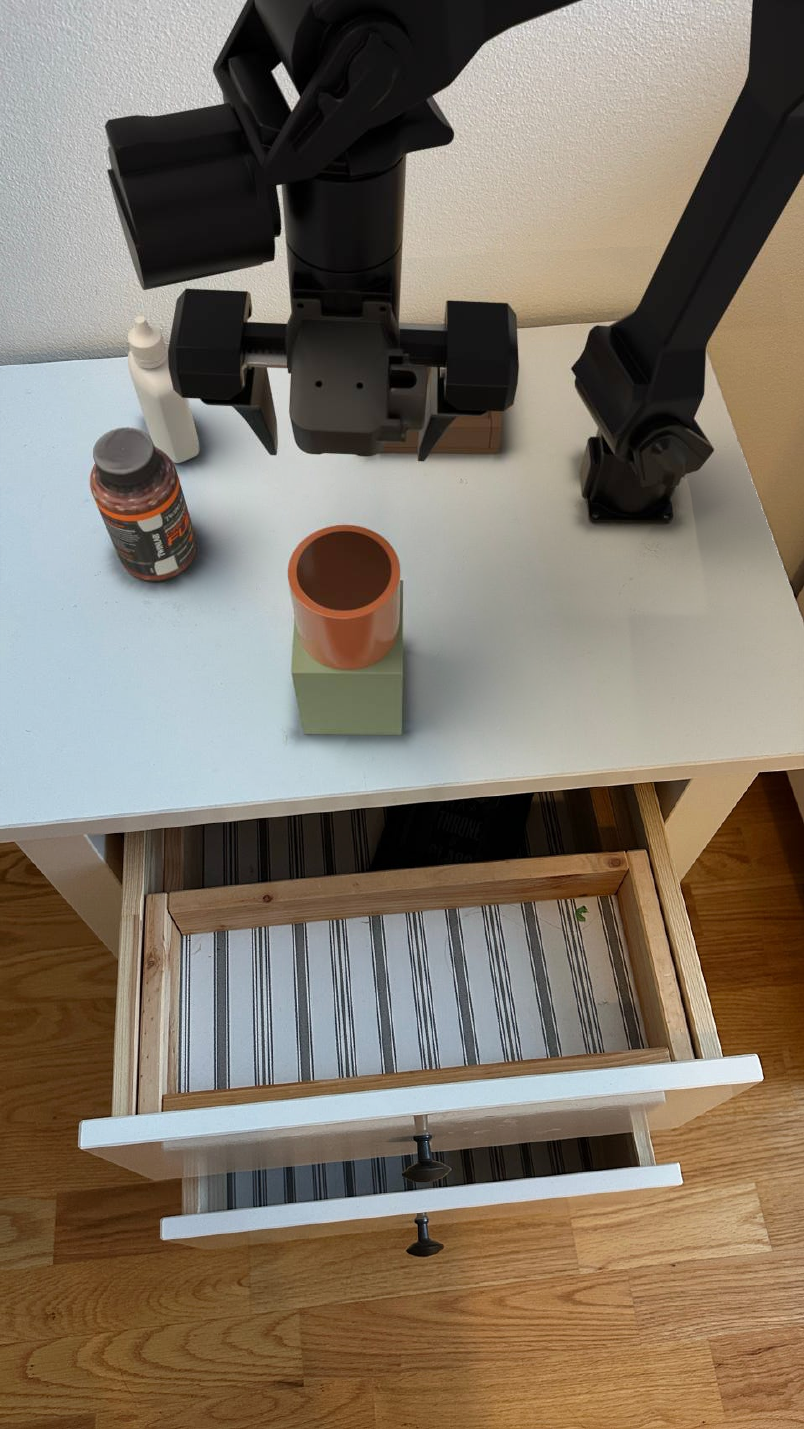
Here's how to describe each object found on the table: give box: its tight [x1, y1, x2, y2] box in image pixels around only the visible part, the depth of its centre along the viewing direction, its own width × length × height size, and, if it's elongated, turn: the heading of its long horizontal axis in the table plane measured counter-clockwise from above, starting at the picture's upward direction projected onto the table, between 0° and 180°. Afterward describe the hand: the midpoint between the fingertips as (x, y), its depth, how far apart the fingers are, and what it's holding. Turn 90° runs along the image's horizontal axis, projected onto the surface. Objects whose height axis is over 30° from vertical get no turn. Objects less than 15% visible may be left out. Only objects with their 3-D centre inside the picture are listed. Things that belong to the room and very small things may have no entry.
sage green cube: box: [290, 579, 404, 736], centre depth 65 cm, size 7×7×9 cm
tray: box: [378, 367, 503, 454], centre depth 79 cm, size 10×10×3 cm
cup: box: [287, 524, 401, 670], centre depth 58 cm, size 6×6×6 cm
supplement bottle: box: [89, 426, 198, 582], centre depth 69 cm, size 6×6×11 cm
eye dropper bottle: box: [127, 315, 200, 464], centre depth 74 cm, size 4×6×12 cm
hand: (347, 453), depth 61 cm, fingers open, 9 cm apart
